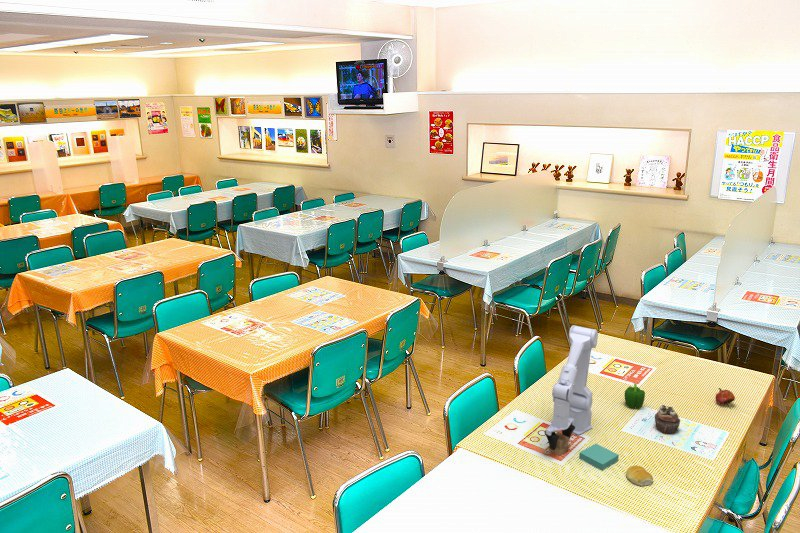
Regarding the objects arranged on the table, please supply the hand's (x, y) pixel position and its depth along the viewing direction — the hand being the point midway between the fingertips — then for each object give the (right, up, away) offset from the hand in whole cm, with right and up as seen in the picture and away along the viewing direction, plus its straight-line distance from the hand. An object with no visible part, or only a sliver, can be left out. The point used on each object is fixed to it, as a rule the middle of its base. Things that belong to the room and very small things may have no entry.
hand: (558, 445), depth 234 cm
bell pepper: (+42, +7, +34) cm, 54 cm away
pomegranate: (+82, +8, +34) cm, 89 cm away
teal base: (+14, -4, -5) cm, 15 cm away
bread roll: (+24, -7, -17) cm, 30 cm away
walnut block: (0, -2, +1) cm, 2 cm away
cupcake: (+48, +2, +15) cm, 50 cm away
